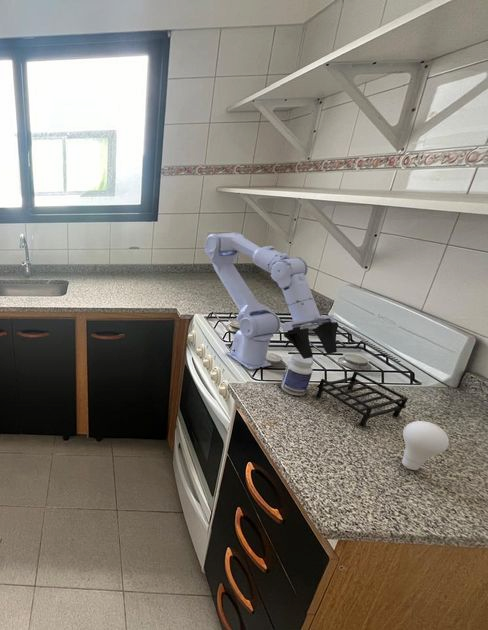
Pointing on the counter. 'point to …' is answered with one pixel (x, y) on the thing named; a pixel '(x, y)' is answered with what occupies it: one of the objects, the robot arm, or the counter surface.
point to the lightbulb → (422, 443)
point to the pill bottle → (297, 375)
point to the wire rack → (350, 389)
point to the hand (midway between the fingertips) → (320, 355)
